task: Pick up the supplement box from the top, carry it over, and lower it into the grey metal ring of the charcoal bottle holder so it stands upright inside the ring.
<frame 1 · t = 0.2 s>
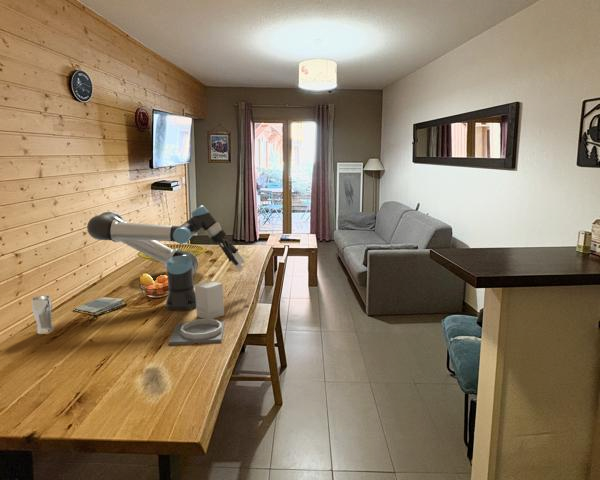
hand: (242, 266, 225), 15 cm above the table, tool tilted 35°, fingers open, 13 cm apart
supplement box: (210, 316, 199), on the table
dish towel: (101, 309, 212), on the table
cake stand: (174, 275, 268), on the table
bottle holder: (202, 333, 179), on the table
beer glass: (45, 332, 184), on the table
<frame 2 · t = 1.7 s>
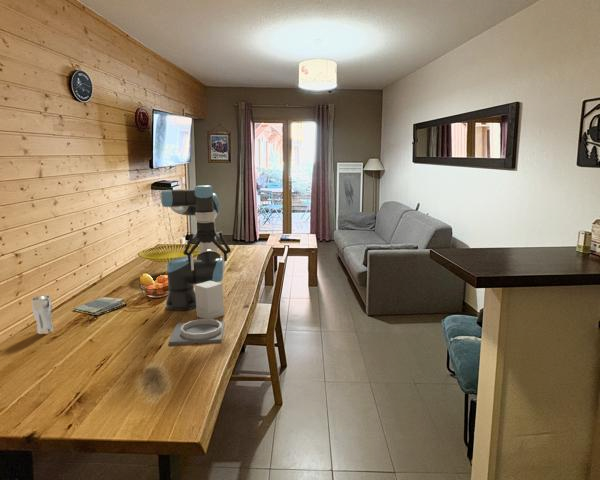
hand: (208, 269, 195), 22 cm above the table, tool pointing down, fingers open, 13 cm apart
nothing on the table moved.
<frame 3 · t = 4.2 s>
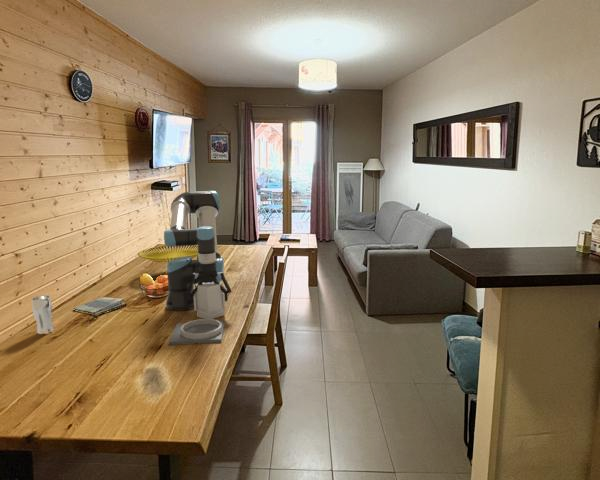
hand: (210, 308, 198), 3 cm above the table, tool pointing down, fingers closed on supplement box, 12 cm apart
supplement box: (210, 316, 199), on the table, touching gripper
everything else where it was.
when the fingers open (6 cm above the table, at t = 11.1 s): supplement box drops 1 cm, resting on bottle holder.
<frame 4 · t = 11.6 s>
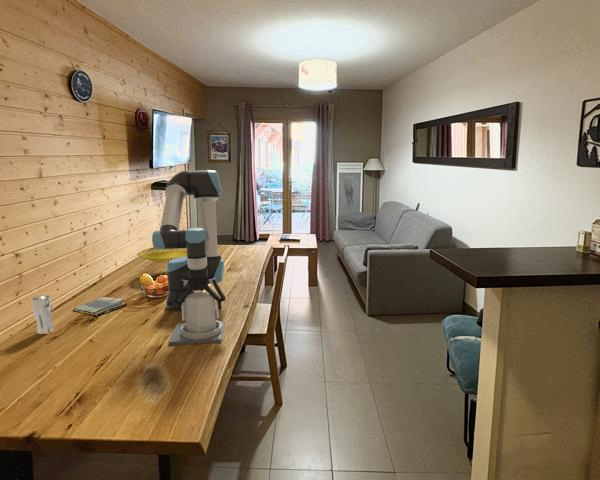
hand: (201, 318, 178), 6 cm above the table, tool pointing down, fingers open, 13 cm apart
supplement box: (201, 331, 179), point 1 cm above the table, touching bottle holder
everything else where it was.
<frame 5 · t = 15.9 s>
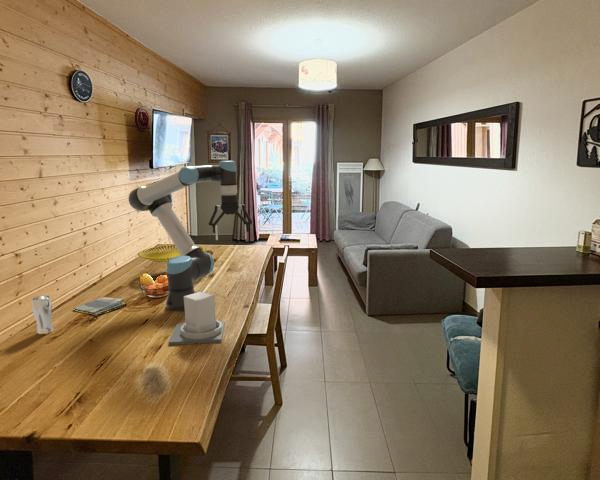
hand: (231, 239, 209), 32 cm above the table, tool pointing down, fingers open, 13 cm apart
nothing on the table moved.
at the end: supplement box 0.2 cm off-centre on the bottle holder, point 1.0 cm above the bottle holder's base; supplement box tilted 0°; the gripper is holding nothing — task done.
